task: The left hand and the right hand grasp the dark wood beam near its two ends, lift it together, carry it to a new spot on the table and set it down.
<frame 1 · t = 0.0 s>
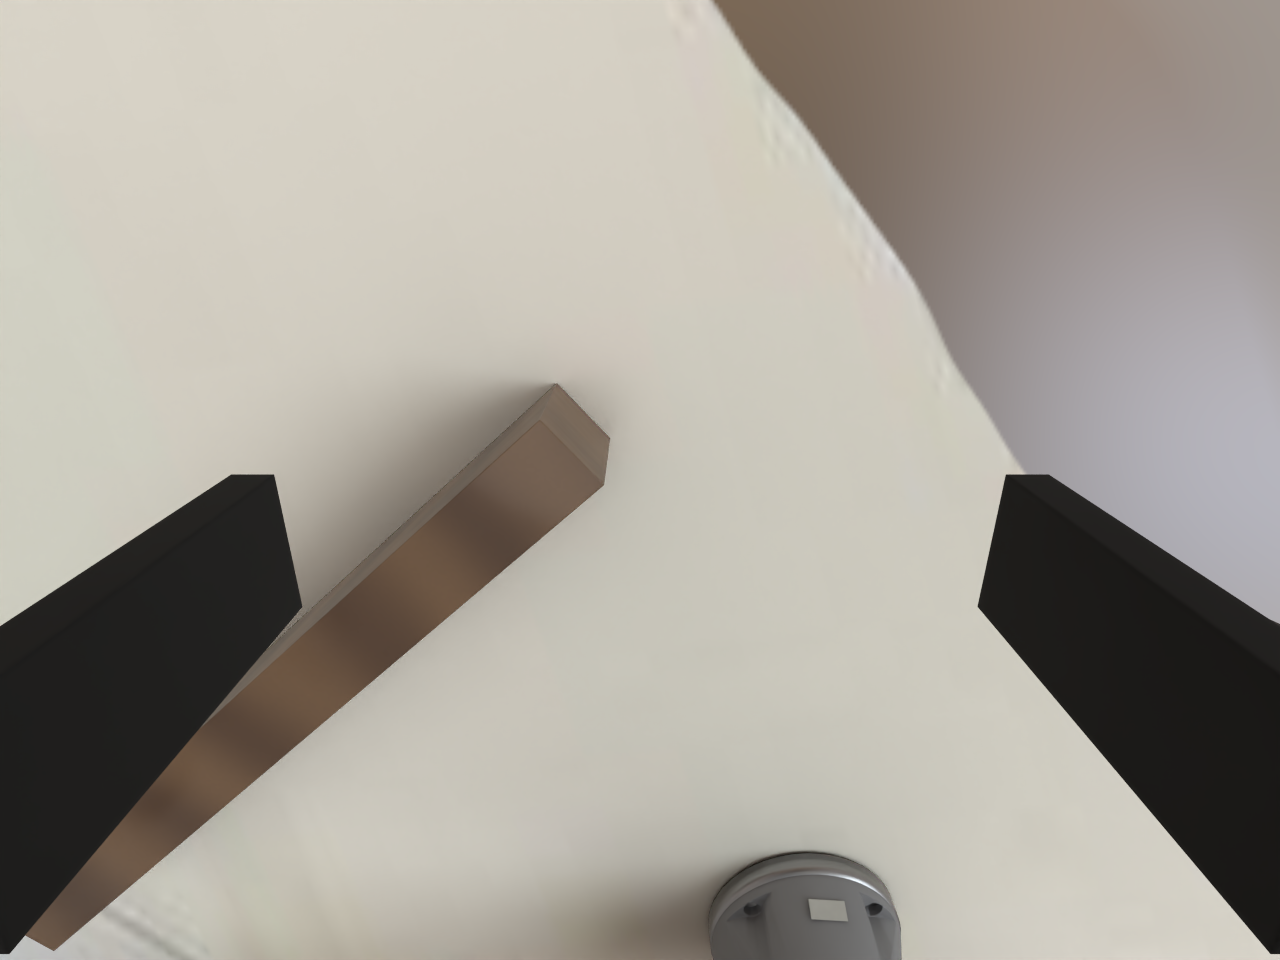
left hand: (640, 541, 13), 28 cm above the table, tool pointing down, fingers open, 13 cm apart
beam: (309, 655, 47), on the table
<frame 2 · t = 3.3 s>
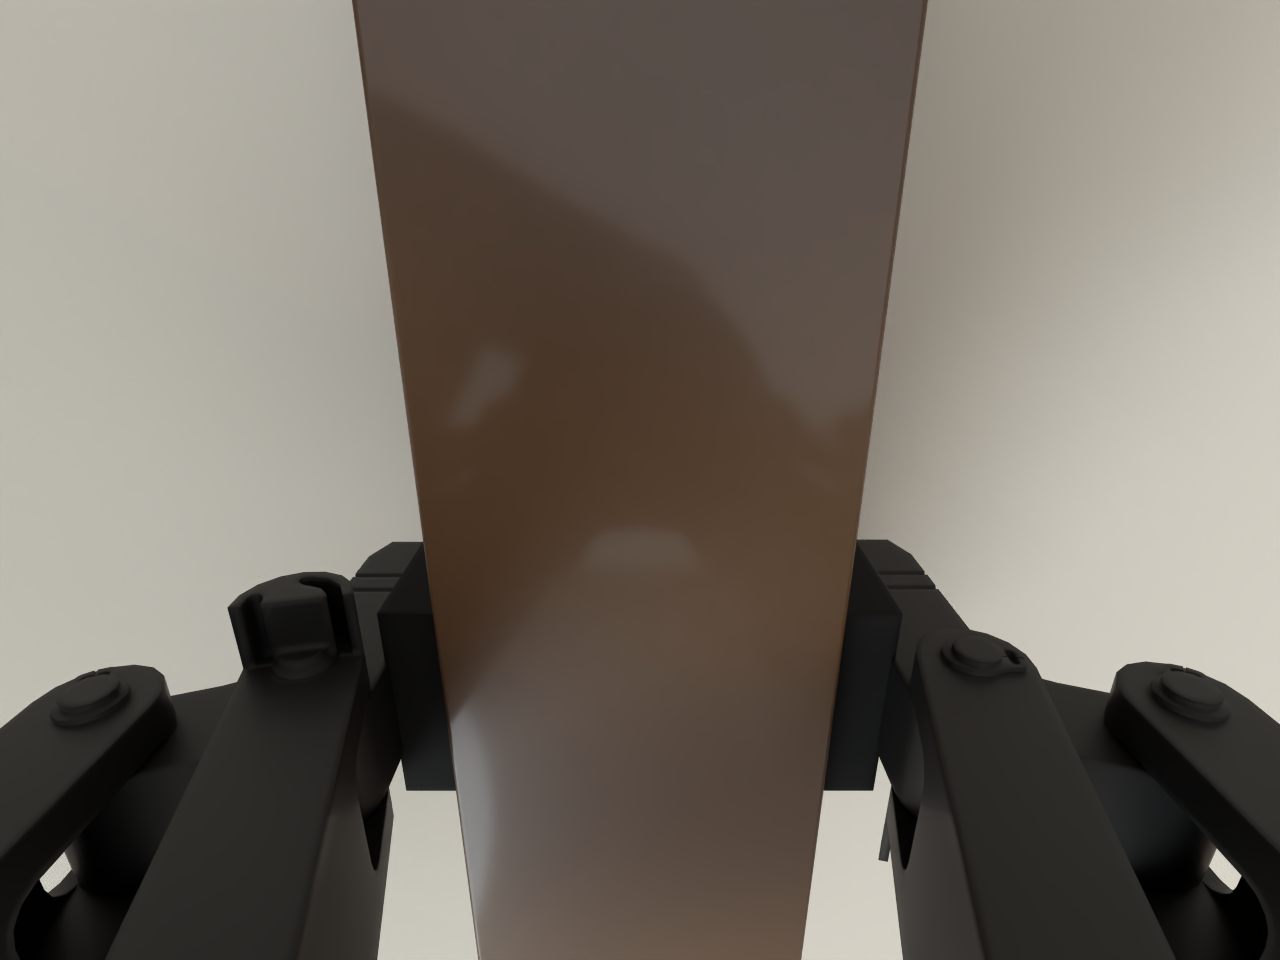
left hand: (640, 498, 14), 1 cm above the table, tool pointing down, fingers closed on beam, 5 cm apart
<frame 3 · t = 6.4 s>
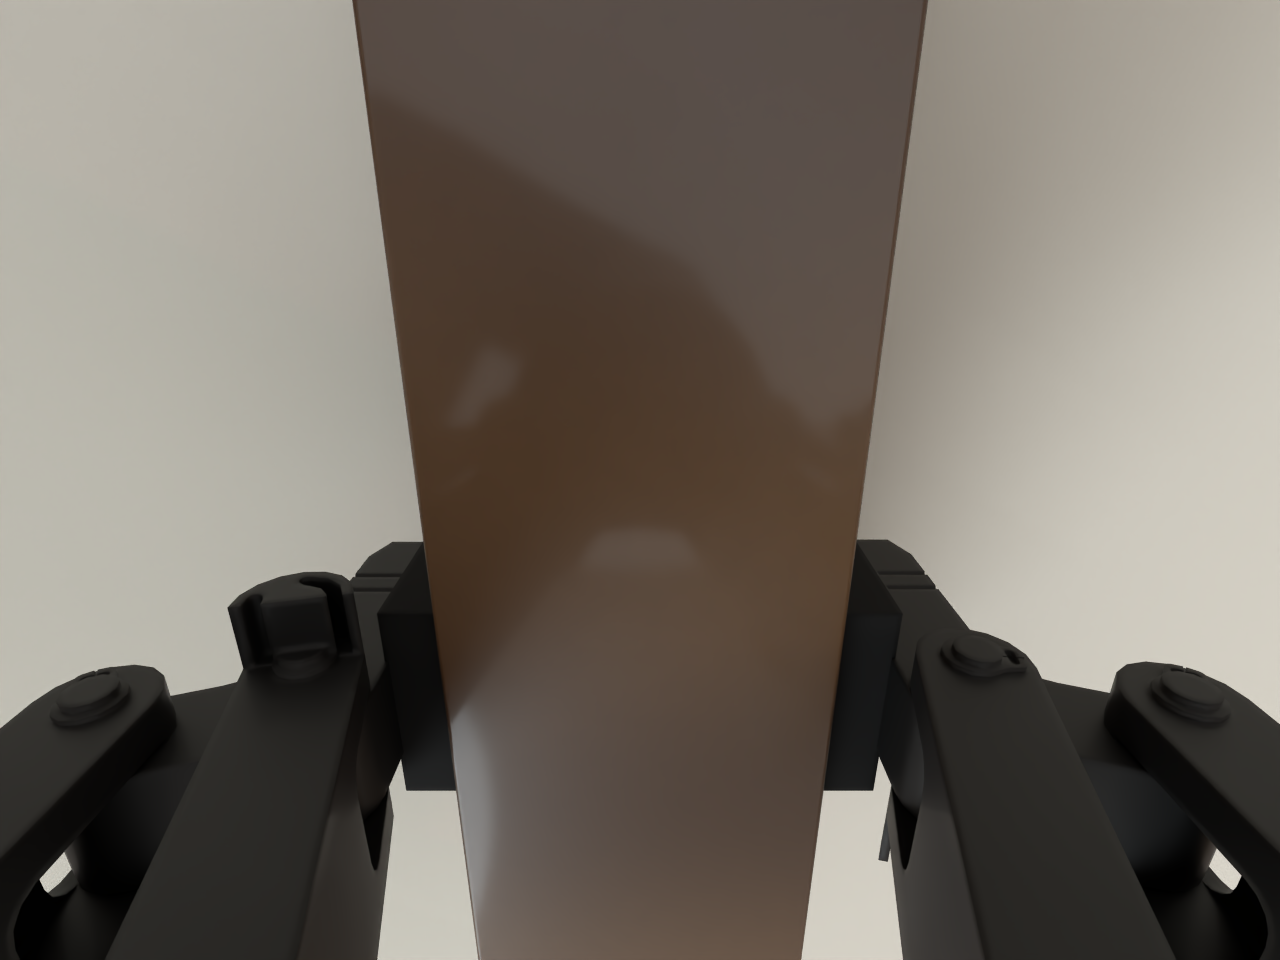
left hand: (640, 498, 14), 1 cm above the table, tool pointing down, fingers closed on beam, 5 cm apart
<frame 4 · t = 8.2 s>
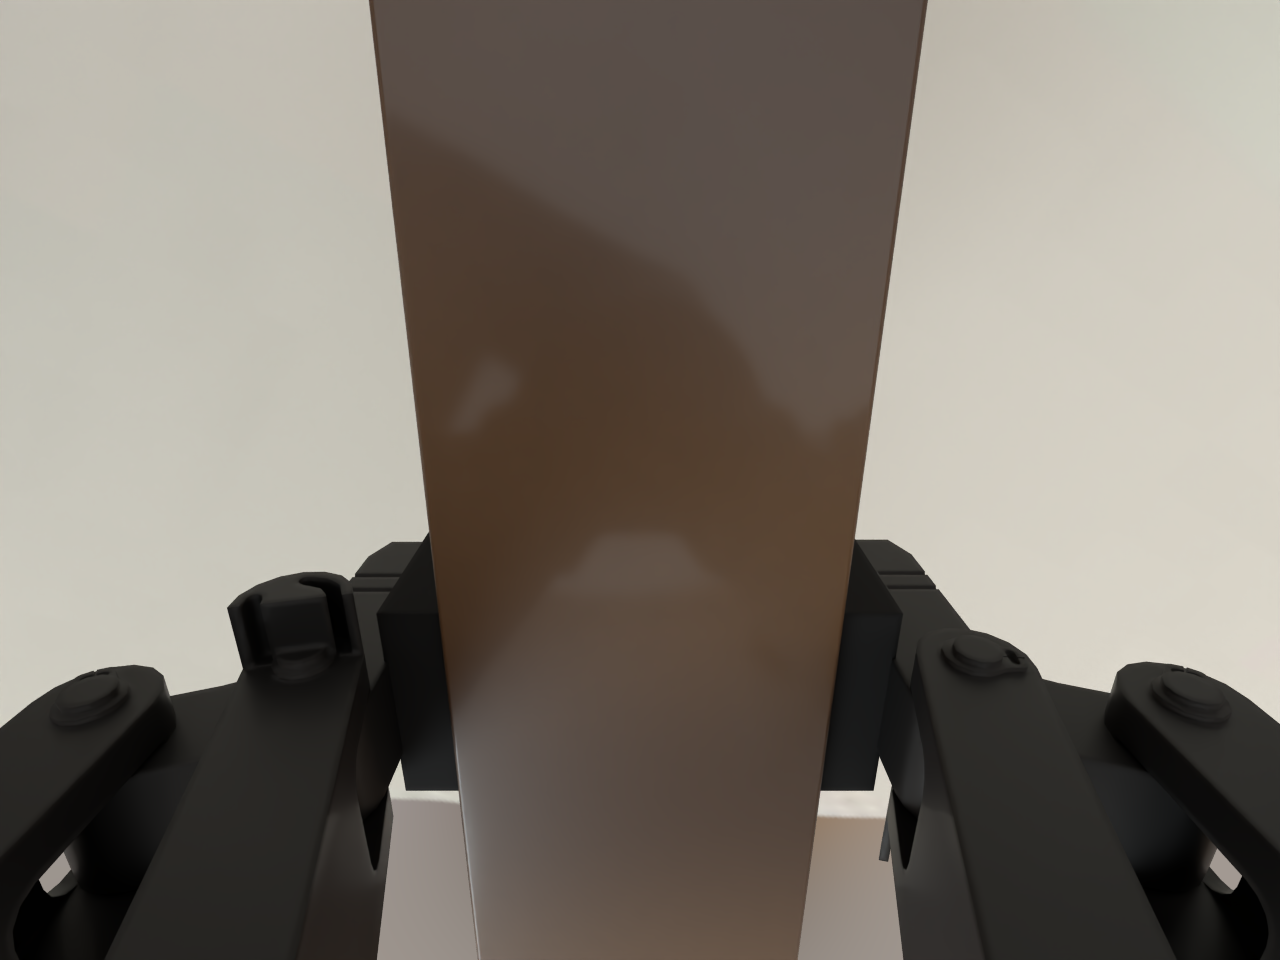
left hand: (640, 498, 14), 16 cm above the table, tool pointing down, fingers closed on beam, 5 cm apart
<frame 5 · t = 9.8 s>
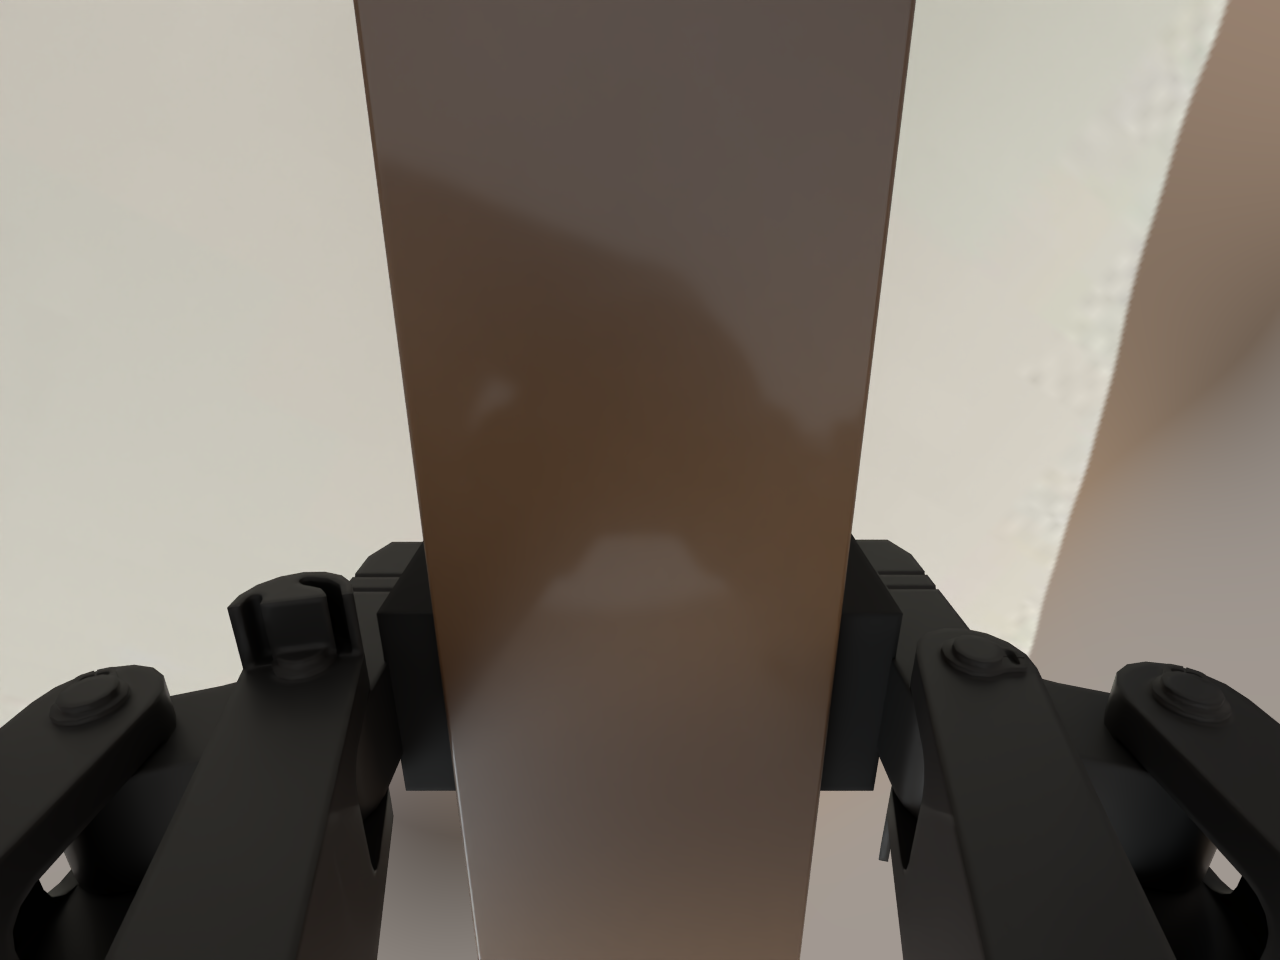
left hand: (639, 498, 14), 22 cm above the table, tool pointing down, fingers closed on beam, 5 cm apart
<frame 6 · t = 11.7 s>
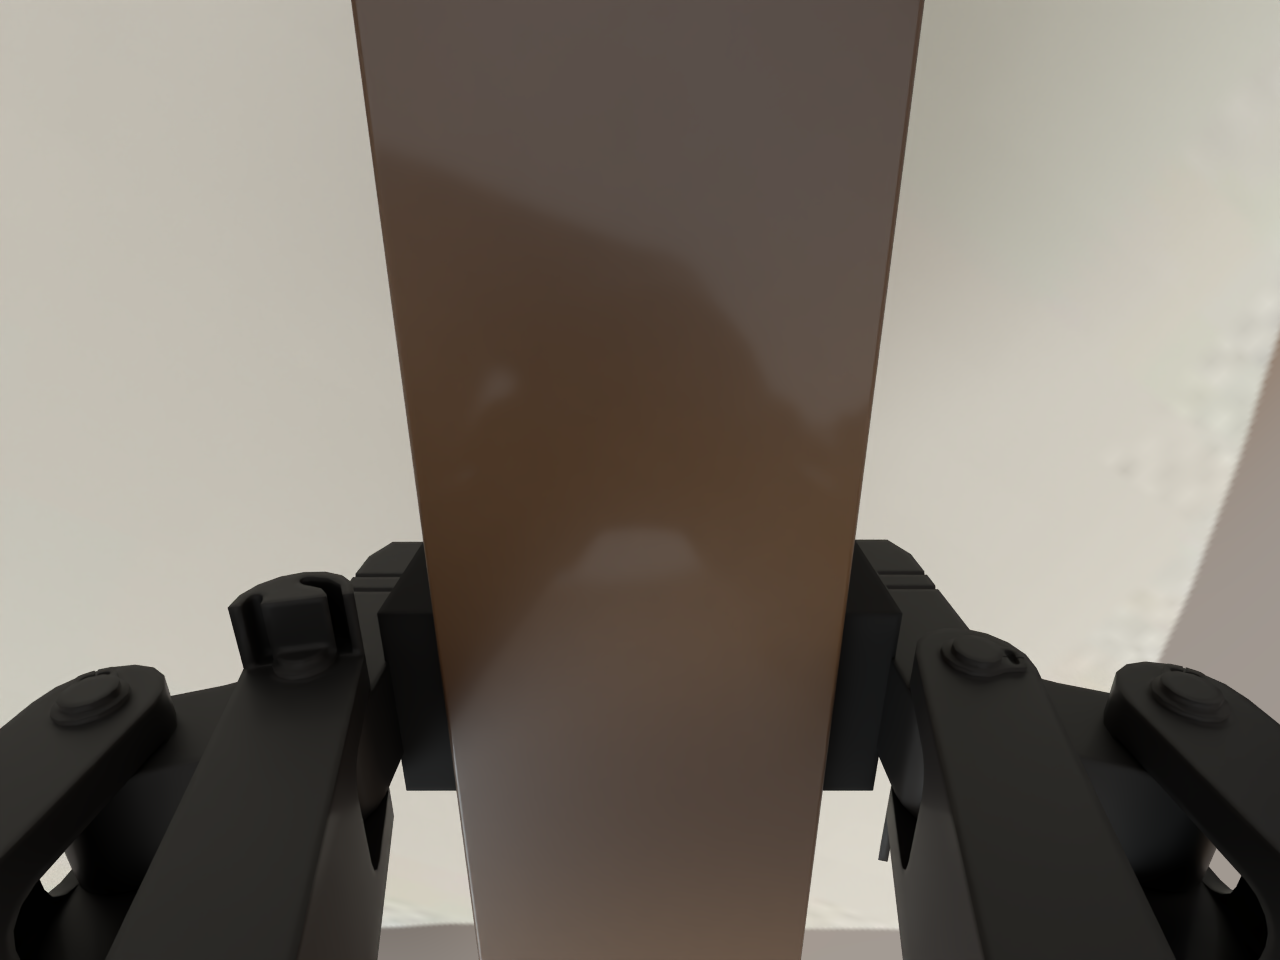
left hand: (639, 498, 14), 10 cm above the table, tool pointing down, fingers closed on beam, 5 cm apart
when the left hand's fingers open (1 cm above the table, at t = 13.0 s): beam stays where it is, on the table.
when the right hand's fingers open (4 cm above the table, at t = 13.2 s): beam stays where it is, on the table.
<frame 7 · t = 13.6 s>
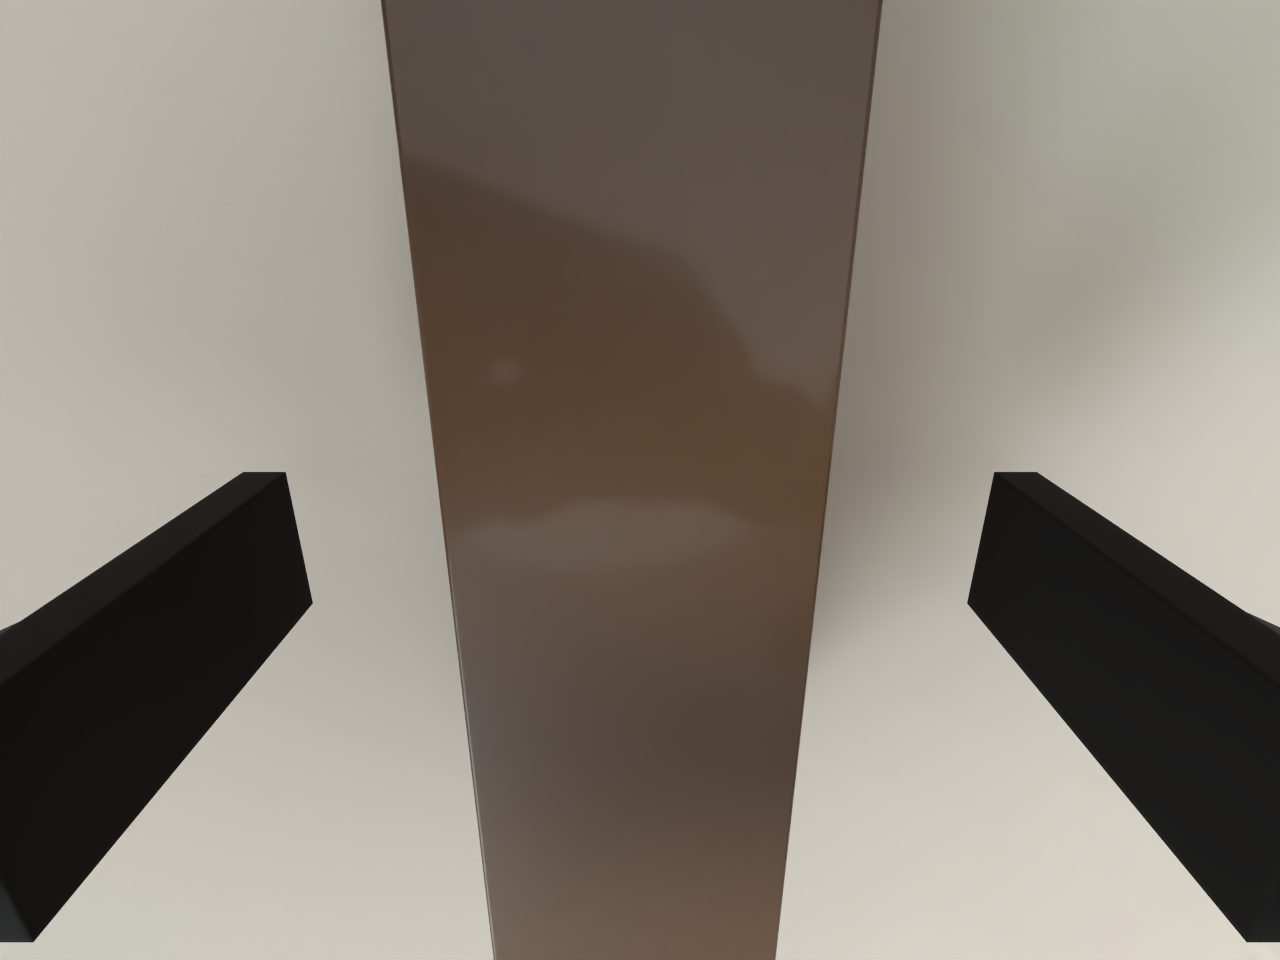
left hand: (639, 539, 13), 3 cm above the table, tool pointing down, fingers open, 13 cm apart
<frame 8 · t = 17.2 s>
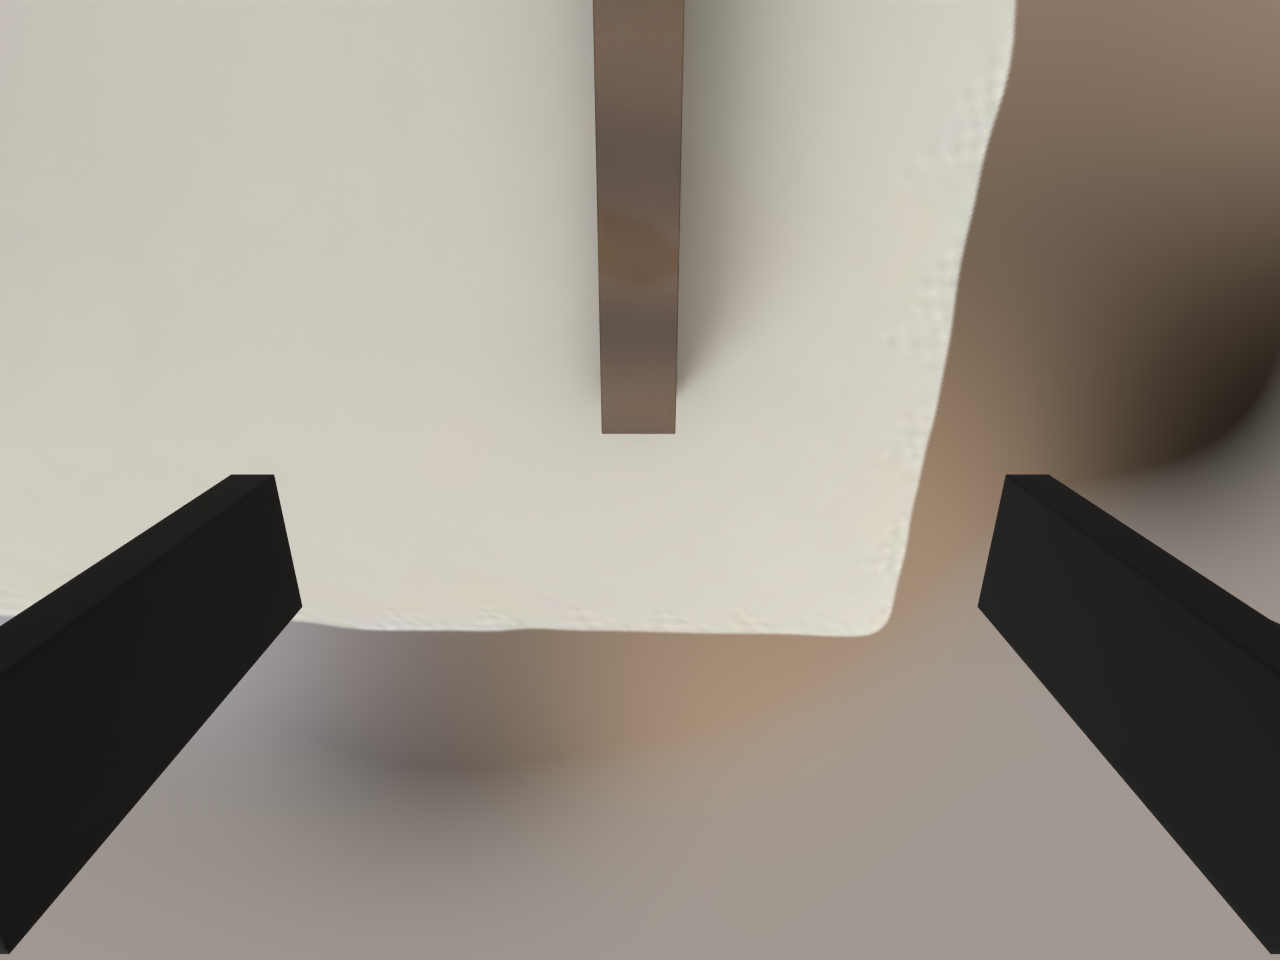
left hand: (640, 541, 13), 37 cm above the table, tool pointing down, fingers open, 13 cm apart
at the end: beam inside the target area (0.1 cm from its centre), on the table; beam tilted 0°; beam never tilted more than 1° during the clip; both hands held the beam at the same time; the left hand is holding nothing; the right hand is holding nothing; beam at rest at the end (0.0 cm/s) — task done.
